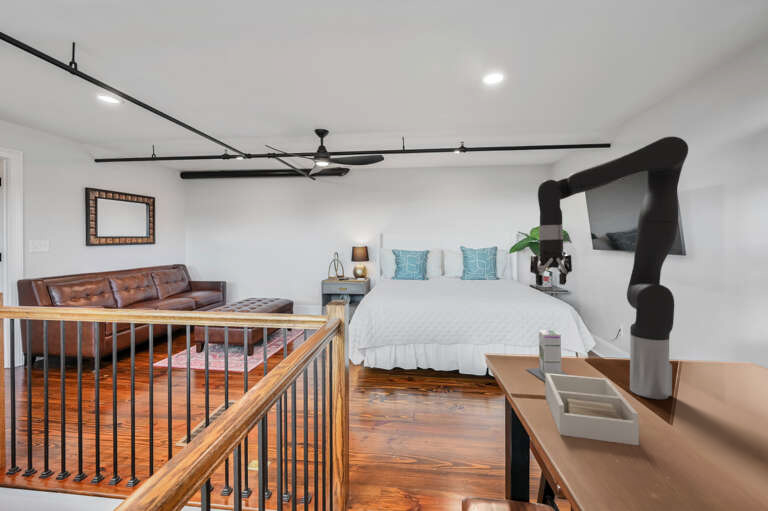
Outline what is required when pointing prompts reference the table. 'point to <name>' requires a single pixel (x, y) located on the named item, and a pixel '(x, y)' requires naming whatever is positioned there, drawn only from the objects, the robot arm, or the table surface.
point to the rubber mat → (538, 373)
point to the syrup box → (549, 352)
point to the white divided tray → (584, 425)
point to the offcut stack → (591, 409)
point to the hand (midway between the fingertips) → (551, 285)
